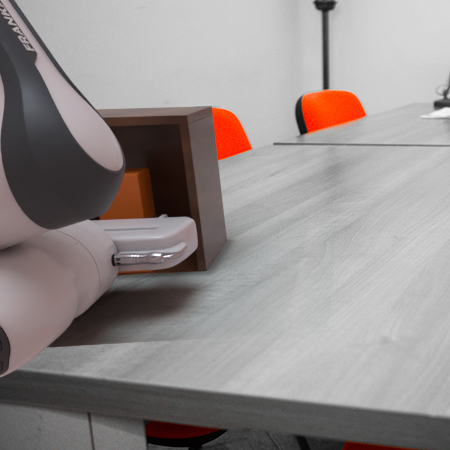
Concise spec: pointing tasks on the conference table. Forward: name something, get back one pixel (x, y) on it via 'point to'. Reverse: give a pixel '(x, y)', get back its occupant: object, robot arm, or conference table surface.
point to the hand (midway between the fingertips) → (120, 222)
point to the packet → (132, 199)
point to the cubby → (177, 171)
